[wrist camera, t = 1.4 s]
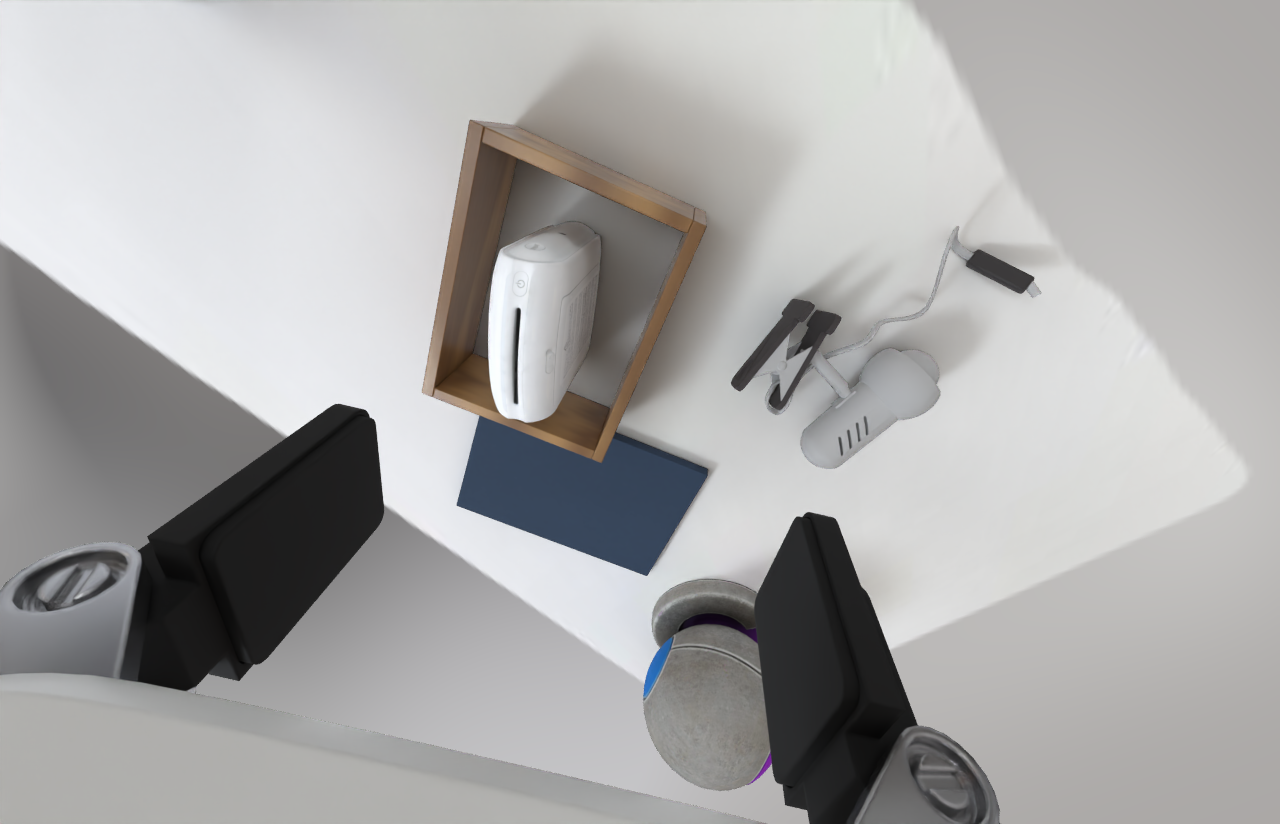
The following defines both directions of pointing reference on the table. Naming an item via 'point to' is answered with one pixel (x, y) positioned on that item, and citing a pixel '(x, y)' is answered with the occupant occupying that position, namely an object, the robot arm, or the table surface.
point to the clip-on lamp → (885, 382)
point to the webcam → (708, 686)
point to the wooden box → (471, 263)
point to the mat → (581, 493)
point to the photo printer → (541, 318)
